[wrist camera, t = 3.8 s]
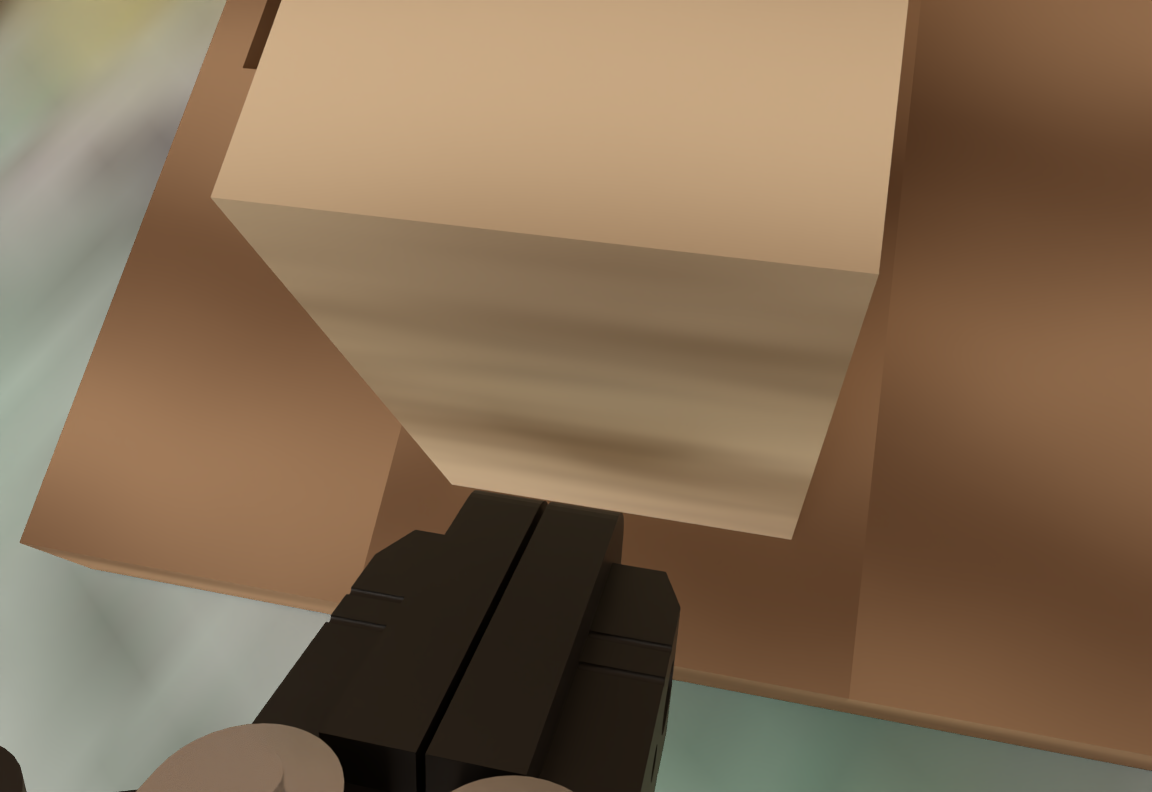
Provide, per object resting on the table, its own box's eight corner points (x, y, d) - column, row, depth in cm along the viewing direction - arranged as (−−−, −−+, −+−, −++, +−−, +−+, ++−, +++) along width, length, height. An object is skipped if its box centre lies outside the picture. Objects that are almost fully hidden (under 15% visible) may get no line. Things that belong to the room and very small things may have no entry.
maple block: (580, -42, 19) (496, -593, 11) (863, -23, 18) (975, -610, 10) (451, 484, 15) (210, 198, 8) (791, 540, 14) (878, 273, 7)
